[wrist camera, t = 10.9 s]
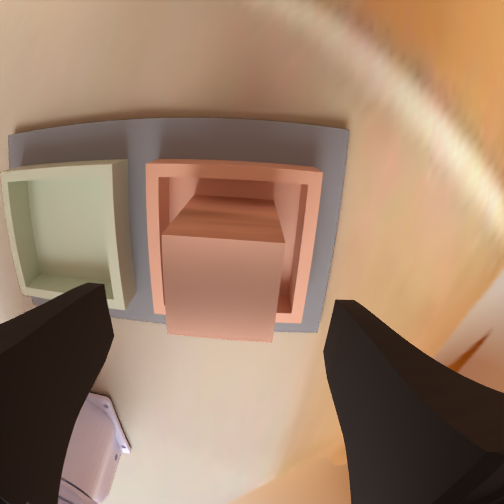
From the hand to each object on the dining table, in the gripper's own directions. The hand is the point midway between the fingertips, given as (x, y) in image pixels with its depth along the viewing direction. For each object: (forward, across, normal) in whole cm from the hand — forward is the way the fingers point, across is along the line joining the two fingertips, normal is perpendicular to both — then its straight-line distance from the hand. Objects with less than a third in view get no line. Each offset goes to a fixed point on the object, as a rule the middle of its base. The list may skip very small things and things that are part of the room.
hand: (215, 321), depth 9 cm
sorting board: (+8, +4, 0) cm, 9 cm away
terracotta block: (+8, 0, 0) cm, 8 cm away
